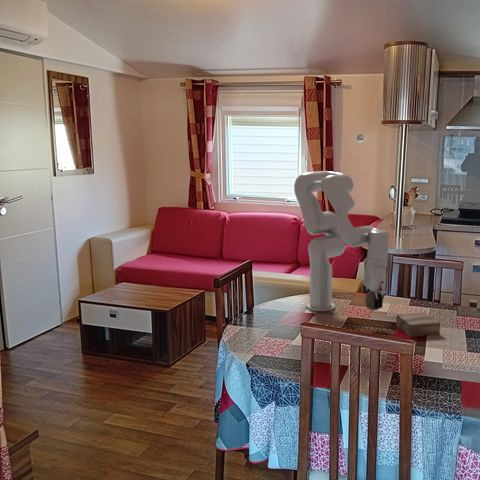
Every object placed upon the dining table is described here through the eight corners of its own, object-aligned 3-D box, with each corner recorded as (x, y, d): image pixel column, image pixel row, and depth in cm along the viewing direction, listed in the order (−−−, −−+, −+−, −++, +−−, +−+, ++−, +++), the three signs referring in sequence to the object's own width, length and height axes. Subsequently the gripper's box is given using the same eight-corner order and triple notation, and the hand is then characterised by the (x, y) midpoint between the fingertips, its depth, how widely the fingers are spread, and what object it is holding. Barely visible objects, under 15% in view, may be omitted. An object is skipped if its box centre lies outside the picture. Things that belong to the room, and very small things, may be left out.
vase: (382, 312, 212) (384, 291, 210) (364, 310, 213) (366, 289, 211) (381, 306, 219) (383, 285, 217) (364, 304, 220) (365, 284, 218)
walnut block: (396, 326, 217) (396, 314, 216) (424, 324, 219) (424, 312, 218) (410, 337, 205) (410, 325, 204) (439, 335, 207) (440, 322, 206)
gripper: (358, 256, 219) (355, 298, 223) (378, 268, 202) (375, 313, 207) (375, 255, 220) (372, 296, 225) (396, 267, 204) (393, 311, 208)
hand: (373, 304), depth 216 cm, fingers closed on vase, 6 cm apart
